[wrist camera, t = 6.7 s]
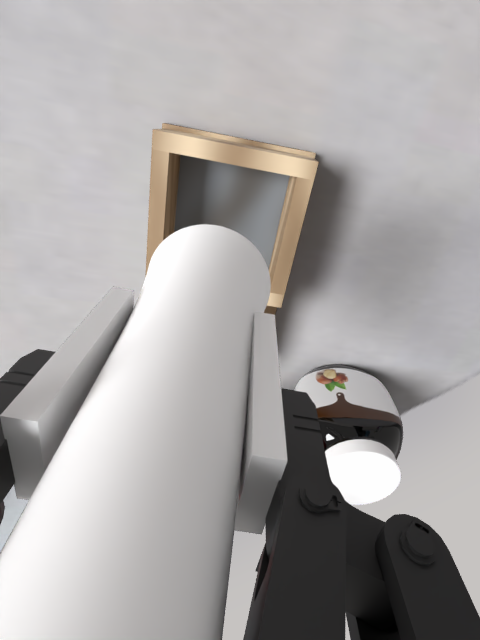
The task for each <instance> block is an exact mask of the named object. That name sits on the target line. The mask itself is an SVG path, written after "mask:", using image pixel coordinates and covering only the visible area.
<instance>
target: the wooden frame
mask: <svg viewBox="0 0 480 640" xmlns="http://www.w3.org/2000/svg"><path fill="white" fill-rule="evenodd" d="M315 155H316V153H314V152H309V151H304V150H299V149H293V148H288V147H283V146H278V145H273V144H268V143H263V142H258V141H253V140H248V139H243V138H238V137H233V136H227V135H222V134H217V133H212V132H207V131H202V130H197V129H192V128H187V127H182V126H177V125H172V124H167V123H162V129H153V134H152V155H151V176H150V196H149V217H148V238H147V258H146V275H147V271H148V267H149V263H150V261H151V258H152V256H153V254H154V252H155V250H156V249H157V247H158V246H159V245H160V244H161V243H162V242H163V241H164V240H165V239H166V238H167V237H168V236H170V235H171V234H173V233H174V232H176V231H178V230H180V229H183V228H186V227H189V226H193V225H202V224H209V225H217V226H222V227H225V228H229V229H231V230H233V231H235V232H238V233H239V234H241V235H242V236H244V237H245V238H247V239H248V240H249V241H250V242H251V243H252V244H253V245H254V246H255V247H256V248H257V249H258V251H259V252H260V253H261V255H262V257H263V258H264V260H265V262H266V265H267V267H268V271H269V274H270V282H271V289H270V296H269V300H268V303H267V306H266V308H265V311H264V313H267V314H273V315H275V313H276V310H277V307H279V308H281V306H282V302H283V298H284V294H285V290H286V286H287V283H288V279H289V275H290V271H291V267H292V263H293V259H294V256H295V252H296V248H297V244H298V240H299V236H300V232H301V229H302V225H303V221H304V217H305V213H306V209H307V205H308V201H309V198H310V194H311V190H312V186H313V182H314V178H315V174H316V171H317V167H318V163H319V162H318V161H316V160H315Z"/></svg>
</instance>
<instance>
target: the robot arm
mask: <svg viewBox="0 0 480 640" xmlns="http://www.w3.org/2000/svg"><path fill="white" fill-rule="evenodd" d="M133 303H134V290H131V289H125V288H119V287H114V286H113V287H112V288H111V289H110V291H109V292H108V293H107V294H106V295H105V296H104V297H103V299H102V300H101V301H100V302H99V303H98V304H97V305H96V307H95V308H94V309H93V310H92V311H91V312H90V313H89V315H88V316H87V317H86V318H85V319H84V320H83V321H82V323H81V324H80V325H79V326H78V327H77V328H76V329H75V331H74V332H73V333H72V334H71V335H70V336H69V337H68V338H67V340H66V341H65V342H64V343H63V344H62V345H61V346H60V348H59V349H58V350H57V351H56V352H52V351H46V350H40V349H37V350H35V351H34V352H32V353H30V354H28V355H26V356H24V357H22V358H20V359H19V360H18V361H17V362H16V363H15V364H14V365H13V366H12V367H11V368H10V369H9V372H6V373H5V374H4V375H3V376H2V377H1V378H0V524H1V521H2V519H3V515H4V509H5V506H4V502H3V499H4V498H5V496H6V495H7V493H8V492H9V491H10V489H11V488H12V486H13V485H14V487H15V491H16V496H17V499H24V500H29V499H30V498H31V496H32V494H33V492H34V490H35V488H36V487H37V485H38V483H39V481H40V480H41V478H42V476H43V474H44V472H45V471H46V469H47V467H48V465H49V463H50V462H51V460H52V458H53V456H54V454H55V453H56V451H57V449H58V447H59V445H60V444H61V442H62V440H63V438H64V437H65V435H66V433H67V431H68V429H69V428H70V426H71V424H72V422H73V420H74V419H75V417H76V415H77V413H78V411H79V410H80V408H81V406H82V404H83V402H84V401H85V399H86V397H87V395H88V393H89V392H90V390H91V388H92V386H93V385H94V383H95V381H96V379H97V377H98V376H99V374H100V372H101V370H102V368H103V366H104V365H105V363H106V361H107V359H108V357H109V355H110V354H111V352H112V350H113V348H114V346H115V344H116V342H117V341H118V339H119V337H120V335H121V333H122V331H123V329H124V327H125V325H126V323H127V321H128V319H129V317H130V315H131V313H132V311H133ZM320 431H321V430H320V425H319V422H318V415H317V410H316V405H315V404H314V402H313V401H312V400H311V398H310V397H309V395H308V394H307V393H306V392H300V391H294V390H288V389H282V388H281V380H280V369H279V357H278V346H277V334H276V323H275V315H273V314H267V313H262V312H256V311H255V313H254V321H253V335H252V349H251V363H250V377H249V390H248V402H247V414H246V424H245V433H244V443H243V452H242V461H241V471H240V480H239V490H238V499H237V508H236V518H235V527H234V530H235V531H242V532H249V533H256V534H262V532H263V529H264V526H265V523H266V544H265V547H264V549H263V552H262V554H261V557H260V560H259V563H258V565H257V568H256V571H257V572H258V574H257V578H256V583H255V588H254V592H253V597H252V602H251V607H250V611H249V616H248V621H247V626H246V630H245V635H244V639H243V640H345V612H346V617H347V621H348V627H349V632H350V638H351V640H480V617H479V615H478V613H477V611H476V609H475V606H474V604H473V602H472V600H471V598H470V595H469V593H468V591H467V589H466V587H465V585H464V582H463V580H462V578H461V576H460V573H459V571H458V569H457V567H456V565H455V563H454V560H453V558H452V556H451V554H450V552H449V550H448V548H447V546H446V545H445V543H444V542H443V540H442V538H441V537H440V536H439V535H438V534H437V533H436V532H435V531H434V530H433V529H432V528H431V527H430V526H429V525H428V524H426V523H424V522H423V521H421V520H420V519H418V518H416V517H413V516H409V515H406V514H399V515H394V516H392V517H391V518H389V519H388V520H387V521H386V523H385V522H383V521H381V520H379V519H377V518H375V517H373V516H370V515H368V514H366V513H364V512H362V511H360V510H358V509H356V508H355V507H353V506H351V505H350V504H349V503H348V502H346V501H345V500H344V497H343V496H342V494H341V492H340V491H339V489H338V488H337V487H336V486H335V485H334V484H333V483H332V481H331V478H330V474H329V469H328V464H327V459H326V454H325V449H324V445H323V440H322V435H321V433H320Z"/></svg>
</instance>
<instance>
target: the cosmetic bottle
mask: <svg viewBox="0 0 480 640" xmlns="http://www.w3.org/2000/svg"><path fill="white" fill-rule="evenodd" d="M270 289H271V282H270V274H269V271H268V267H267V265H266V262H265V260H264V258H263V257H262V255H261V253H260V252H259V251H258V249H257V248H256V247H255V246H254V245H253V244H252V243H251V242H250V241H249V240H248V239H247V238H245V237H244V236H242V235H241V234H239V233H238V232H235V231H233V230H231V229H229V228H225V227H222V226H217V225H209V224H202V225H193V226H189V227H186V228H183V229H180V230H178V231H176V232H174V233H173V234H171V235H170V236H168V237H167V238H166V239H165V240H164V241H163V242H162V243H161V244H160V245H159V246H158V247H157V249H156V250H155V252H154V254H153V256H152V258H151V261H150V263H149V267H148V271H147V275H146V279H145V282H144V285H143V288H142V290H141V293H140V295H139V297H138V300H137V302H136V304H135V306H134V309H133V311H132V313H131V315H130V317H129V319H128V321H127V323H126V325H125V327H124V329H123V331H122V333H121V335H120V337H119V339H118V341H117V342H116V344H115V346H114V348H113V350H112V352H111V354H110V355H109V357H108V359H107V361H106V363H105V365H104V366H103V368H102V370H101V372H100V374H99V376H98V377H97V379H96V381H95V383H94V385H93V386H92V388H91V390H90V392H89V393H88V395H87V397H86V399H85V401H84V402H83V404H82V406H81V408H80V410H79V411H78V413H77V415H76V417H75V419H74V420H73V422H72V424H71V426H70V428H69V429H68V431H67V433H66V435H65V437H64V438H63V440H62V442H61V444H60V445H59V447H58V449H57V451H56V453H55V454H54V456H53V458H52V460H51V462H50V463H49V465H48V467H47V469H46V471H45V472H44V474H43V476H42V478H41V480H40V481H39V483H38V485H37V487H36V488H35V490H34V492H33V494H32V496H31V498H30V499H29V501H28V503H27V505H26V507H25V509H24V510H23V512H22V514H21V516H20V518H19V519H18V521H17V523H16V525H15V527H14V529H13V530H12V532H11V534H10V536H9V538H8V540H7V541H6V543H5V545H4V547H3V549H2V551H1V552H0V640H222V634H223V624H224V616H225V607H226V598H227V590H228V580H229V572H230V563H231V555H232V546H233V536H234V527H235V518H236V508H237V499H238V490H239V480H240V471H241V461H242V452H243V443H244V433H245V424H246V414H247V402H248V390H249V377H250V363H251V349H252V335H253V321H254V313H255V311H256V312H262V313H264V311H265V308H266V306H267V303H268V300H269V296H270Z"/></svg>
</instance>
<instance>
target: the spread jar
mask: <svg viewBox="0 0 480 640" xmlns="http://www.w3.org/2000/svg"><path fill="white" fill-rule="evenodd" d="M294 391H300V392H306V393H307V394H308V395H309V397H310V398H311V400H312V401H313V402H314V404H315V405H316V410H317V415H318V422H319V425H320V430H321V431H320V433H321V435H322V440H323V445H324V449H325V454H326V459H327V464H328V469H329V474H330V478H331V481H332V483H333V484H334V485H335V486H336V487H337V488H338V489H339V491H340V492H341V494H342V496H343V497H344V500H345V501H346V502H348V503H349V504H350V505H362V504H369V503H373V502H377V501H379V500H382V499H384V498H385V497H387V496H389V495H390V494H391V493H392V492H393V491H394V490H395V489H396V488H397V487H398V485H399V483H400V480H401V471H400V468H399V466H398V463H397V461H396V460H397V457H398V455H399V453H400V450H401V445H402V440H403V427H402V421H401V418H400V415H399V413H398V410H397V408H396V406H395V404H394V402H393V400H392V398H391V396H390V394H389V392H388V390H387V389H386V388H385V386H384V385H383V384H382V383H381V382H380V381H379V380H378V379H377V378H375V377H374V376H372V375H370V374H369V373H366V372H364V371H362V370H359V369H357V368H354V367H350V366H345V365H329V366H324V367H320V368H317V369H314V370H312V371H310V372H309V373H307V374H305V375H304V376H303V377H302V378H301V379H300V381H299V382H298V384H297V385H296V388H295V390H294Z"/></svg>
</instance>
